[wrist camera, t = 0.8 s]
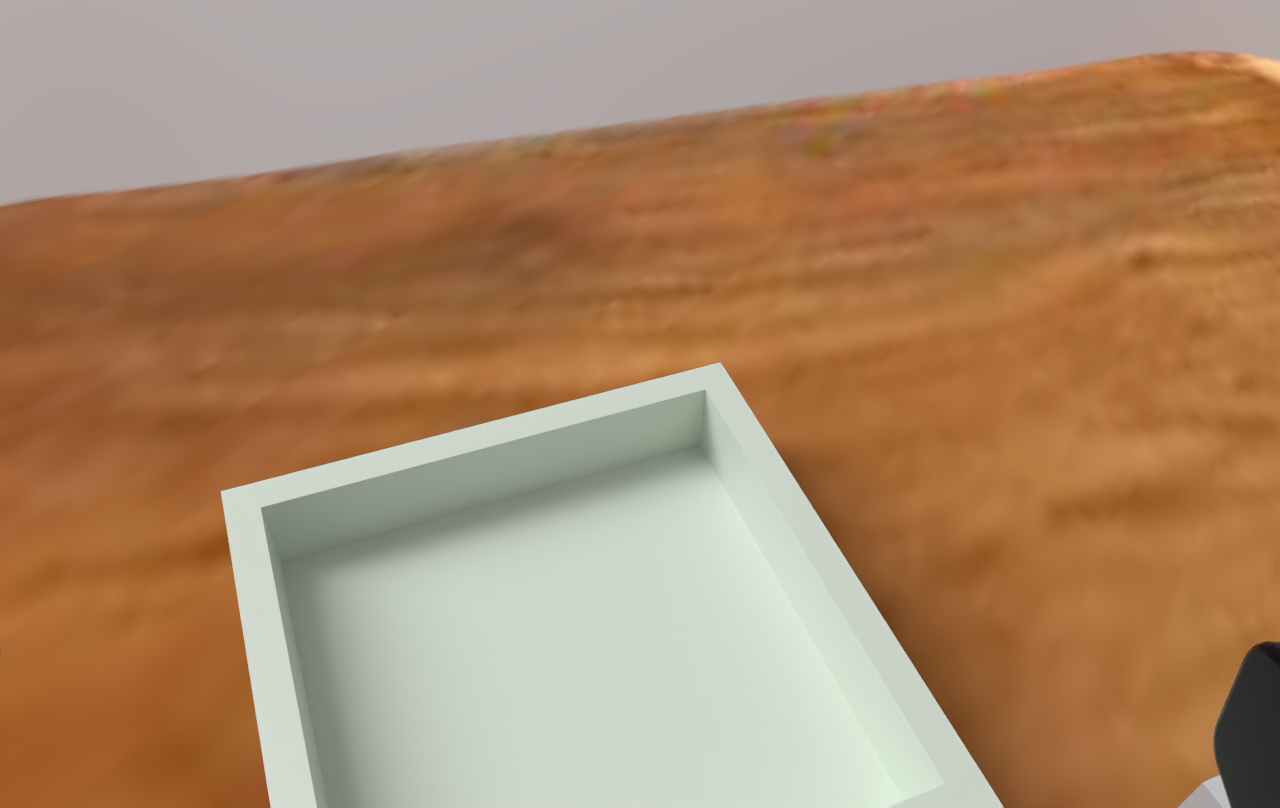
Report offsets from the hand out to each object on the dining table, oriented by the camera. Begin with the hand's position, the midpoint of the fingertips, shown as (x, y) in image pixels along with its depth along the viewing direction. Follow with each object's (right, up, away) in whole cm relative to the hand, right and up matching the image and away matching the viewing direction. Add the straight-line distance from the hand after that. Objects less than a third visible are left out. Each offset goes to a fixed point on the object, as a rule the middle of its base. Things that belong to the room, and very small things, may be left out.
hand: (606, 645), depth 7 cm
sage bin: (-1, -5, +17) cm, 18 cm away
